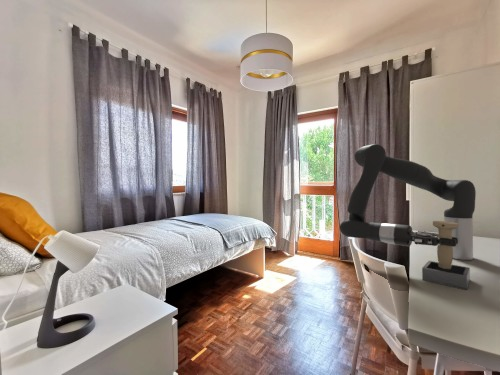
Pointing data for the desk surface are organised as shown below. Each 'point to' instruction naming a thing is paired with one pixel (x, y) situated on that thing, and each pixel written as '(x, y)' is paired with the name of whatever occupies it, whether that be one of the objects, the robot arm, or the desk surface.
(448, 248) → the handle
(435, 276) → the grey square tray
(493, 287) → the desk surface
